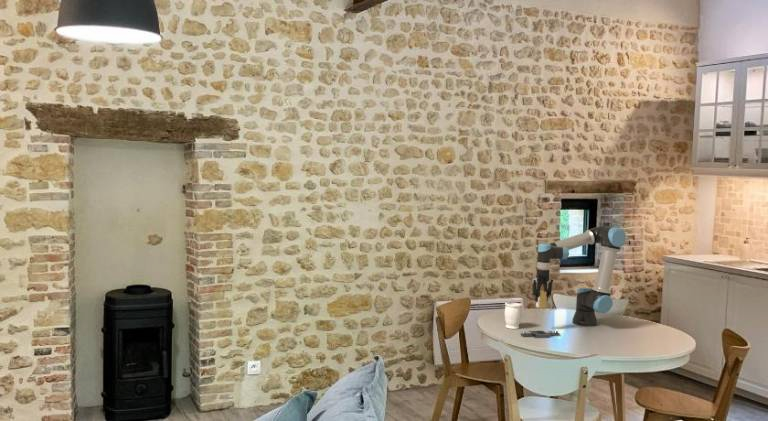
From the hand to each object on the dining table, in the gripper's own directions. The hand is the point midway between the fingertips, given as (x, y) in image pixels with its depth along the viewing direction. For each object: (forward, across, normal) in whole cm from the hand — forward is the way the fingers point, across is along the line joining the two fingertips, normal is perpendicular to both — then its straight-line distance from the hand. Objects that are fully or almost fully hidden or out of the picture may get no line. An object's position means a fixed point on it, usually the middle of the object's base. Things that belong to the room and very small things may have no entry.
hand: (540, 306), depth 408 cm
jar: (+15, +14, -9) cm, 22 cm away
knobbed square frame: (+15, +6, +12) cm, 20 cm away
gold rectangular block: (0, 0, 0) cm, 0 cm away
